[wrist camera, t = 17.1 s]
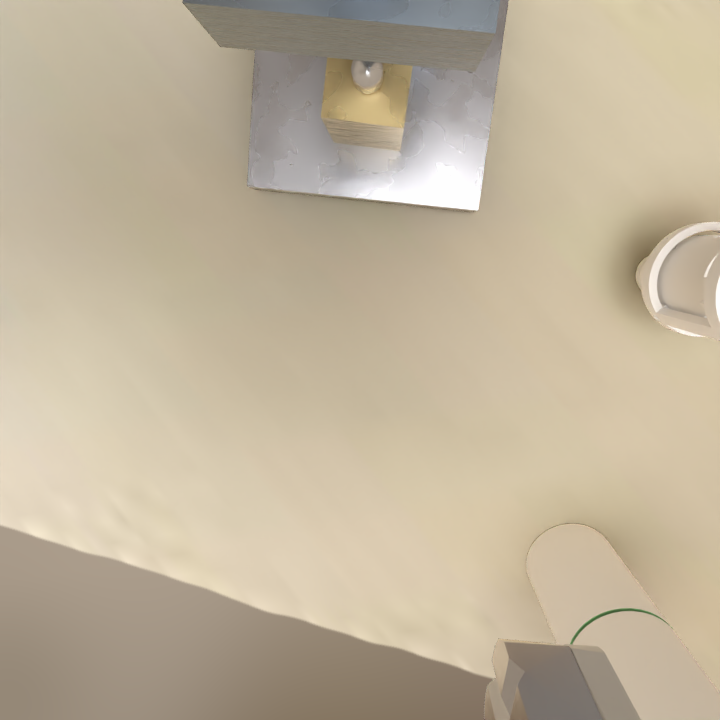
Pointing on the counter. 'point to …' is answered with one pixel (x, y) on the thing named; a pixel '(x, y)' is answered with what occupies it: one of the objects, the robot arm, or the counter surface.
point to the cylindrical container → (617, 623)
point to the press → (374, 44)
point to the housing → (365, 102)
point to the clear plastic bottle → (684, 281)
